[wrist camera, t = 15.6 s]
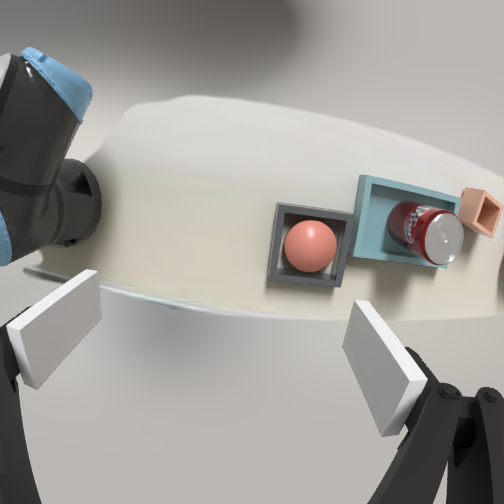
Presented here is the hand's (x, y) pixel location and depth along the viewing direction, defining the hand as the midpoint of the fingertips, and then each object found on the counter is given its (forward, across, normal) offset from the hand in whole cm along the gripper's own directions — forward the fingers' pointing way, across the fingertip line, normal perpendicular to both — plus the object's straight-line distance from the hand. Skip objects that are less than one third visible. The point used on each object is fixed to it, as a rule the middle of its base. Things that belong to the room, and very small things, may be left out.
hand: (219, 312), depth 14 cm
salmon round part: (+31, +10, -3) cm, 33 cm away
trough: (+31, +26, +2) cm, 40 cm away
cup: (+31, +39, +7) cm, 51 cm away
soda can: (+31, +26, +2) cm, 40 cm away
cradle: (+31, +10, -3) cm, 33 cm away
